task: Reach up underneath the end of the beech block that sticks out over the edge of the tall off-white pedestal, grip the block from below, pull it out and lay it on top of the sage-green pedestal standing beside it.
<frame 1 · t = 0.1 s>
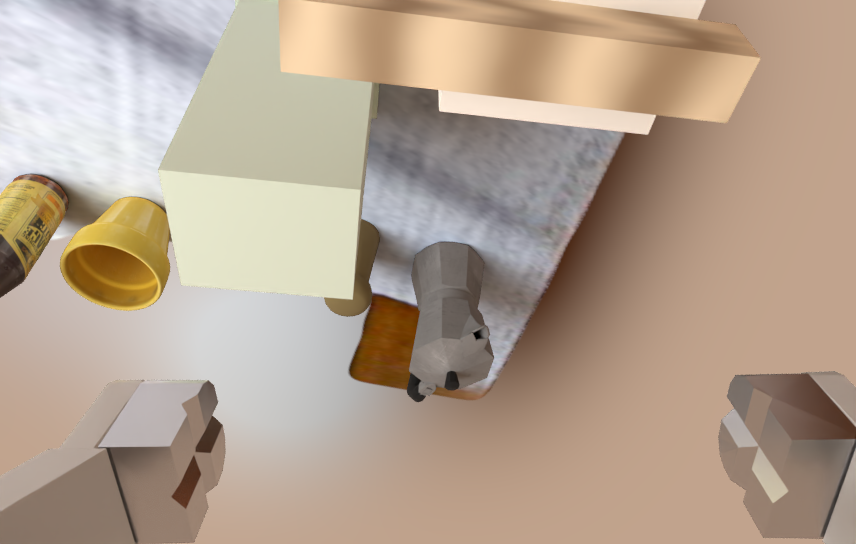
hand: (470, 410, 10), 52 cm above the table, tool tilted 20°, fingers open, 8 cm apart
beech block: (512, 31, 33), point 26 cm above the table, touching white pedestal
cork: (354, 236, 78), on the table
sauce bottle: (42, 190, 73), on the table
plant pot: (140, 217, 76), on the table
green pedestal: (312, 53, 61), on the table
coffeepot: (442, 271, 82), on the table
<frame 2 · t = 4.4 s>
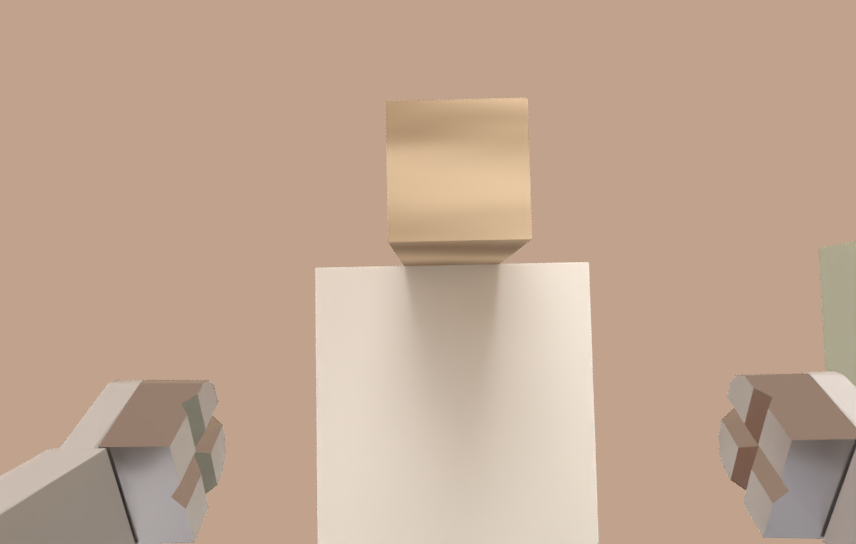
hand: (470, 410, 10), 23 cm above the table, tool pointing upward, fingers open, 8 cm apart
beech block: (450, 270, 27), point 26 cm above the table, touching white pedestal
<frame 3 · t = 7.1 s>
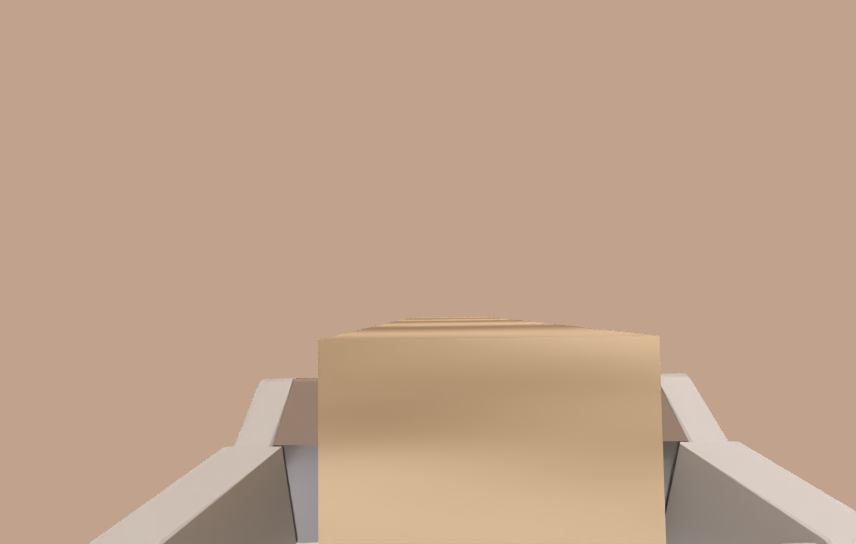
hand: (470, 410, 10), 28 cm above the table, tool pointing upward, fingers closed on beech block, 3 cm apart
beech block: (459, 452, 17), point 26 cm above the table, touching gripper, white pedestal
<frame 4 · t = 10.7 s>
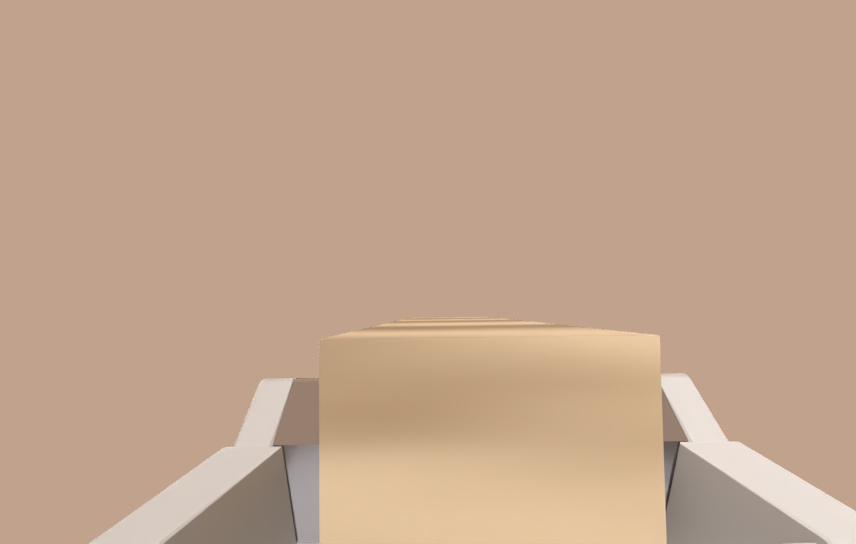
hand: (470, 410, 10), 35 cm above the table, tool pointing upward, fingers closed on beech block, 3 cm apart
beech block: (458, 452, 17), point 32 cm above the table, touching gripper
when the fingers open (29 cm above the table, at t = 14.4 s): beech block drops 1 cm, resting on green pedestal.
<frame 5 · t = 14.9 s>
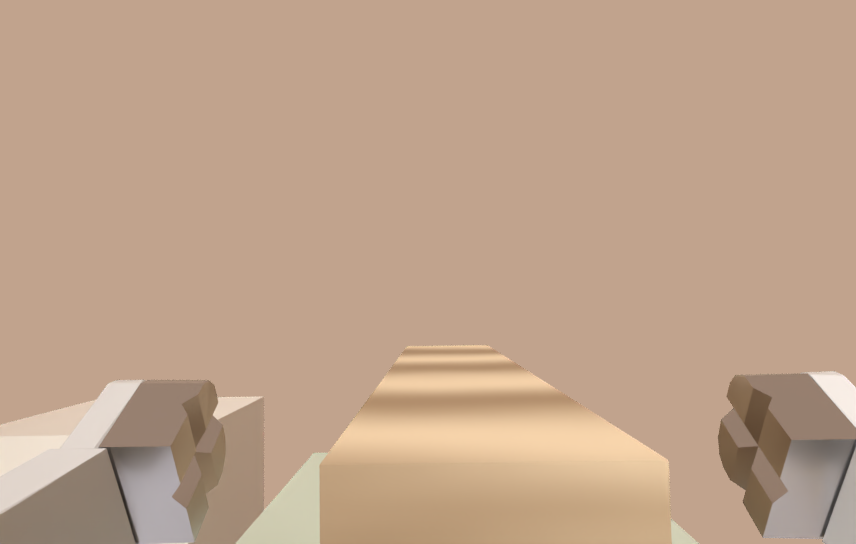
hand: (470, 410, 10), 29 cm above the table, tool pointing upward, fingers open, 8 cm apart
beech block: (458, 500, 17), point 26 cm above the table, touching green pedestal
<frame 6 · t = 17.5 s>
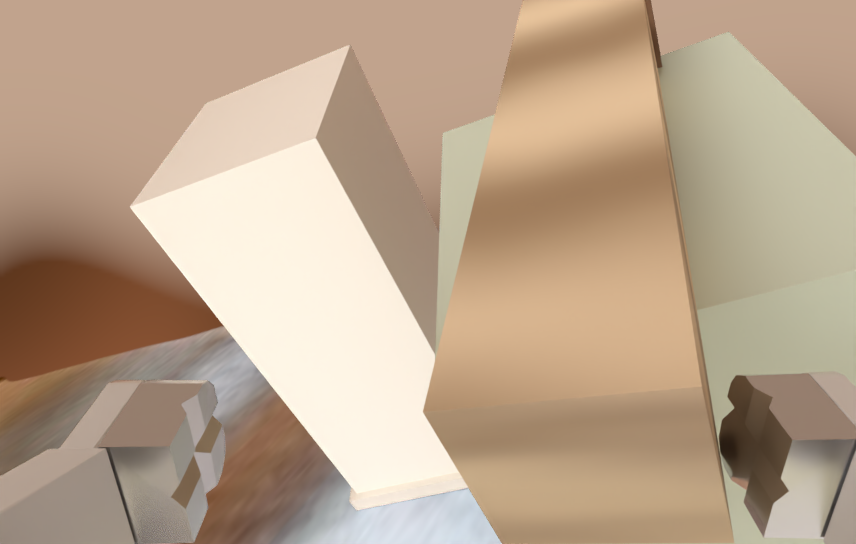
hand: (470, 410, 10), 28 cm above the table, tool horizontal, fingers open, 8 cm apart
beech block: (604, 164, 18), point 26 cm above the table, touching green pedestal, gripper
white pedestal: (433, 419, 49), on the table
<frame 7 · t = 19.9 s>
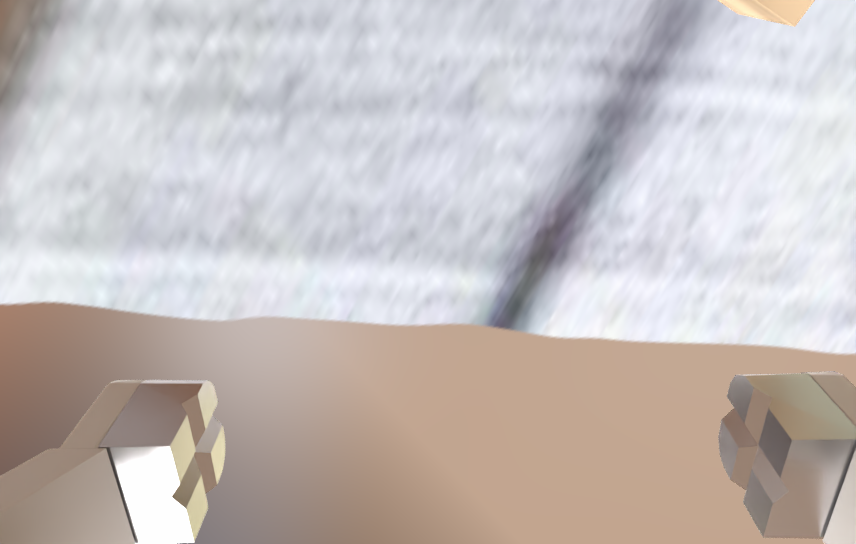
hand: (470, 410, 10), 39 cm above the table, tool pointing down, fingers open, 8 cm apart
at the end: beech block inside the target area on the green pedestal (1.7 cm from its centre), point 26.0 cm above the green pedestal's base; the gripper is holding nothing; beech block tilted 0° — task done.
